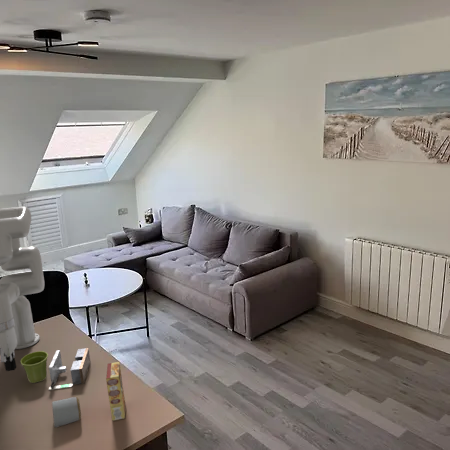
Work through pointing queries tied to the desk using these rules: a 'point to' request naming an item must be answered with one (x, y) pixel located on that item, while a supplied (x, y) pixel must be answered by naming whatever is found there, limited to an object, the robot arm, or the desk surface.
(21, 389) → the desk surface
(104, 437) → the desk surface
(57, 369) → the grey flat bar
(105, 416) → the desk surface
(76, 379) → the grey slotted box
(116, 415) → the candy box
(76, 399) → the ceramic mug
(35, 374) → the plant pot
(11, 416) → the desk surface
